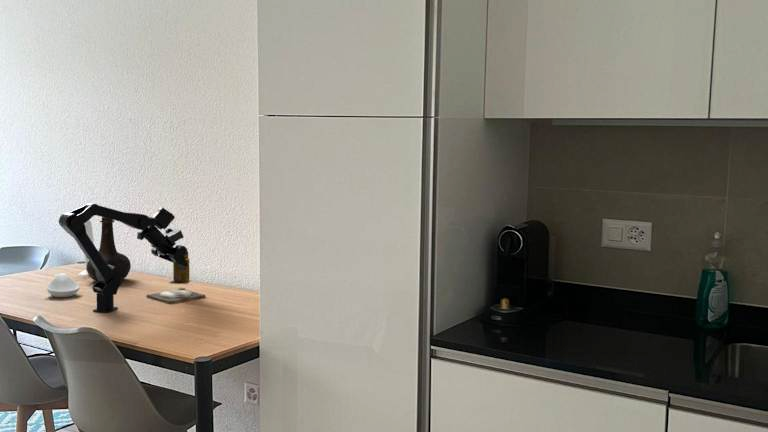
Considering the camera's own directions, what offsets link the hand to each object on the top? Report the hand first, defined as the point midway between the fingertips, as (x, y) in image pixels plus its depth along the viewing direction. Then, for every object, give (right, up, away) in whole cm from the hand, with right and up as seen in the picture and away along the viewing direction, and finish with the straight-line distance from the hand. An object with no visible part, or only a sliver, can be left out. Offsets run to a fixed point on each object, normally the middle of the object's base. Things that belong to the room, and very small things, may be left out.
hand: (182, 264), depth 292 cm
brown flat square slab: (-3, -13, +2) cm, 14 cm away
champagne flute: (-56, -7, +46) cm, 73 cm away
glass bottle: (-40, -9, +30) cm, 51 cm away
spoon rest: (-50, -12, +7) cm, 52 cm away
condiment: (-1, -7, -1) cm, 7 cm away
